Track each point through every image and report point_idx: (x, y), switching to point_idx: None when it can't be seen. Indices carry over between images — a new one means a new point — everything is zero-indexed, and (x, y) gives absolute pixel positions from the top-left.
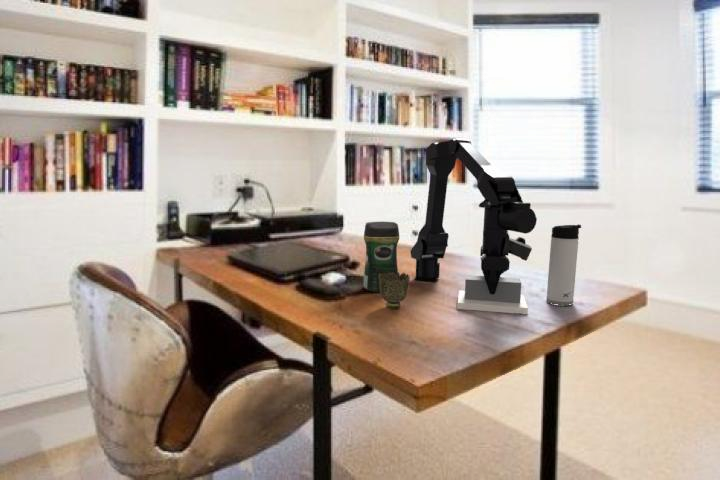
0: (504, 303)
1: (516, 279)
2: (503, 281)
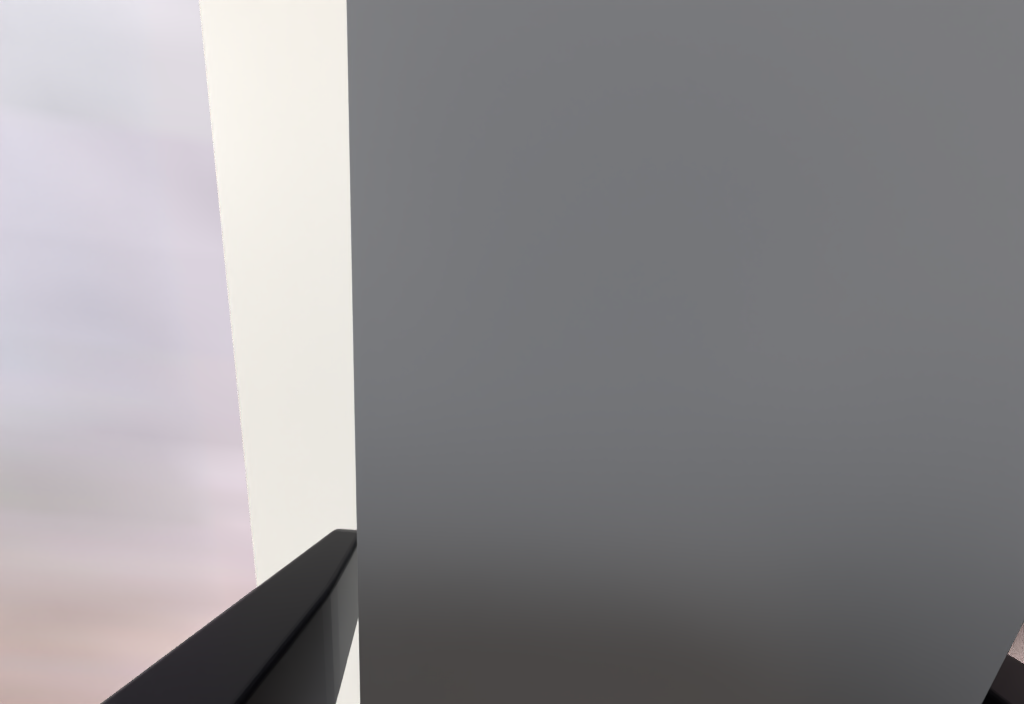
0: None
1: (668, 121)
2: (987, 620)
